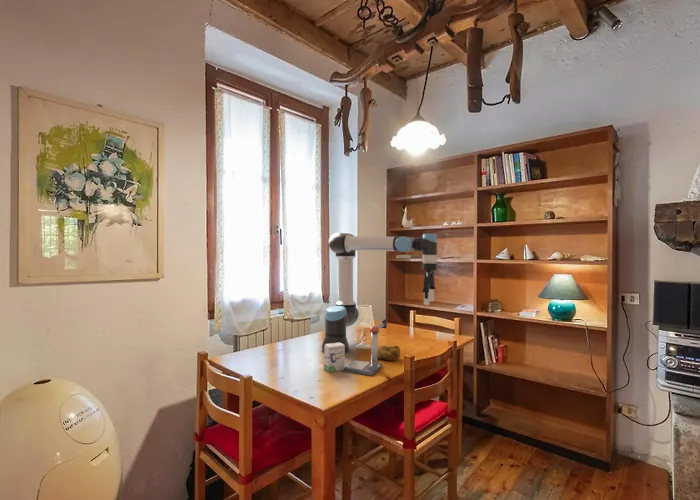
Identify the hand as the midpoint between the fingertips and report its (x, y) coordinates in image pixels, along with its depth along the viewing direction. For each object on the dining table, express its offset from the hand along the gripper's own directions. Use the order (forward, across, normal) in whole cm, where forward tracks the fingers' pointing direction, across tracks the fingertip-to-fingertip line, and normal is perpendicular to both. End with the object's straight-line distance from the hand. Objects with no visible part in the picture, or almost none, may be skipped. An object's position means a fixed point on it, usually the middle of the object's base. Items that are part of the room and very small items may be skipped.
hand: (429, 303), depth 197 cm
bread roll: (+28, -16, +18) cm, 37 cm away
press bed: (+28, -36, +24) cm, 51 cm away
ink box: (+28, -41, +36) cm, 61 cm away
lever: (+11, -29, +18) cm, 36 cm away
